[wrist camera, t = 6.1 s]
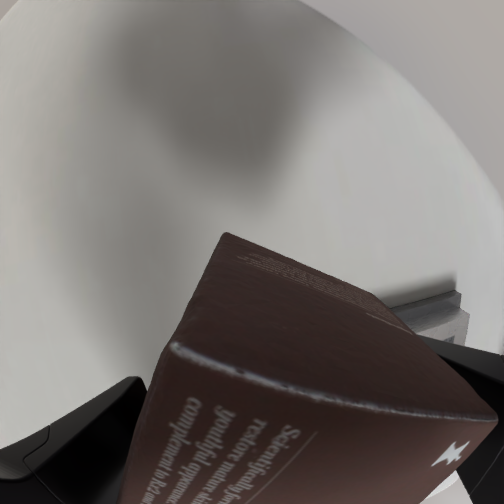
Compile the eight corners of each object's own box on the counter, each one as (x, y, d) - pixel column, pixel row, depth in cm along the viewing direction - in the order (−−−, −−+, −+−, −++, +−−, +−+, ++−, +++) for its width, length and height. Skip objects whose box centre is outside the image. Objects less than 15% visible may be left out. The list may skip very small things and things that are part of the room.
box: (224, 225, 10) (162, 327, 2) (375, 292, 10) (509, 414, 3) (167, 367, 11) (106, 525, 3) (300, 411, 11) (334, 557, 4)
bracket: (313, 443, 24) (319, 465, 21) (306, 326, 21) (315, 346, 18) (433, 405, 24) (445, 421, 21) (454, 290, 21) (475, 301, 18)
